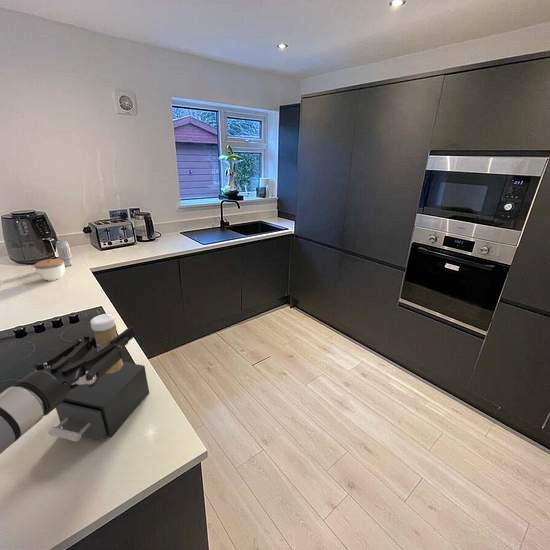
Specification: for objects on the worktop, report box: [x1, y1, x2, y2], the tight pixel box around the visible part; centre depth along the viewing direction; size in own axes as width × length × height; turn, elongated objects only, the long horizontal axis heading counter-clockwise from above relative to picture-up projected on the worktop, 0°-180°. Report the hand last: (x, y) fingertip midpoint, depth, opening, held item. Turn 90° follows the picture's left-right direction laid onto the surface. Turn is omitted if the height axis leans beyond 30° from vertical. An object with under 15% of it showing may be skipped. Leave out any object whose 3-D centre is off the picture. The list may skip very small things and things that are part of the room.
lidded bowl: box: [33, 258, 66, 282], centre depth 154 cm, size 13×13×11 cm
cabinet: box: [63, 360, 150, 438], centre depth 74 cm, size 15×13×10 cm
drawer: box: [48, 401, 107, 442], centre depth 70 cm, size 18×11×8 cm, turn 167°
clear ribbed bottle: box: [55, 239, 74, 267], centre depth 172 cm, size 6×6×15 cm
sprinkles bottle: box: [90, 313, 124, 374], centre depth 66 cm, size 5×5×13 cm
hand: (123, 329), depth 70 cm, fingers closed on sprinkles bottle, 4 cm apart
